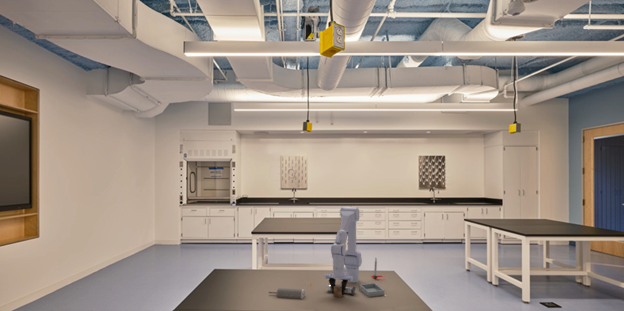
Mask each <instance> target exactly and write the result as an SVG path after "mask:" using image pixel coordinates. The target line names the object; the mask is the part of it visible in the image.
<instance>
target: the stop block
mask: <svg viewBox="0 0 624 311" xmlns="http://www.w3.org/2000/svg"><path fill="white" fill-rule="evenodd" d="M333 297H336V298H342V297H344V295H342V284H339V283H338V284H337V283H335V286H334V294H333Z"/></svg>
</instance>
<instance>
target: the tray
mask: <svg viewBox="0 0 624 311" xmlns="http://www.w3.org/2000/svg"><path fill="white" fill-rule="evenodd" d="M359 290H360V291H361V292H362V293H363V294H365V296H367V297H375V296H376V297H378V296H385V289H384V288H382V287H381V286H379V284H377V283H375V282H370V283H360V284H359Z"/></svg>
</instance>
